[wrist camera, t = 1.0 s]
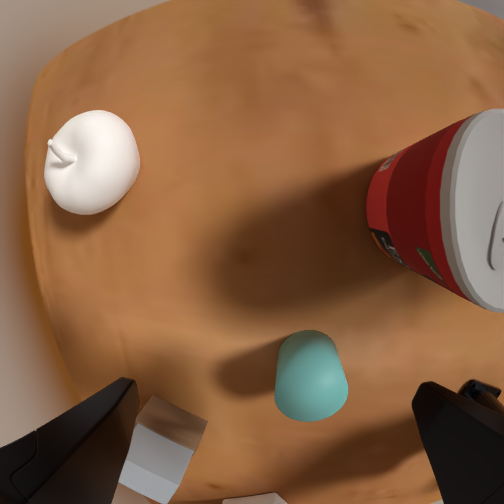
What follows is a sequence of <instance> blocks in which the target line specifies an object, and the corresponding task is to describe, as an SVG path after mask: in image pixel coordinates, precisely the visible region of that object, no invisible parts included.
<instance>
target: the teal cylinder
mask: <svg viewBox="0 0 504 504" xmlns="http://www.w3.org/2000/svg"><path fill="white" fill-rule="evenodd" d="M347 396H348V384H347V381H346V378H345V375H344V371H343V368H342V365H341V362H340V359H339V356H338V353H337V350H336V347H335V344H334V342H333V341H332V340H331V338H330V337H328V336H327V335H326V334H324V333H322V332H319V331H315V330H304V331H300V332H297V333H294V334H292V335H291V336H289V337H288V338H287V339H286V340H285V341H284V342H283V343H282V345H281V347H280V349H279V352H278V361H277V373H276V385H275V402H276V405H277V407H278V409H279V410H280V411H281V412H282V413H283V414H284V415H286V416H287V417H289V418H291V419H294V420H298V421H305V422H310V421H318V420H322V419H325V418H327V417H329V416H331V415H333V414H334V413H336V412H337V411H338V410H339V409H340V408H341V407H342V406H343V404H344V403H345V401H346V399H347Z"/></svg>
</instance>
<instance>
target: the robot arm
mask: <svg viewBox="0 0 504 504" xmlns="http://www.w3.org/2000/svg"><path fill="white" fill-rule="evenodd" d="M500 393H501V390H500V389H499V388H497V387H494V386H491V385H489V384H486V383H483V382H480V381H477V380H474V379H473V380H471V381H470V382H469V384H468V385H467V387H466V388H465V389H464V391H463V392H462V394H461V395H459V394H457V393H455V392H453V391H451V390H449V389H447V388H445V387H443V386H441V385H439V384H437V383H435V382H433V381H428V382H423V383H422V384H421V385H420V386H419V388H418V390H417V392H416V394H415V396H414V398H413V400H412V409H413V412H414V416H415V419H416V422H417V426H418V429H419V433H420V437H421V440H422V443H423V446H424V448H425V451H426V453H427V456H428V459H429V461H430V464H431V467H432V470H433V472H434V475H435V478H436V481H437V484H438V487H439V490H440V493H441V496H442V499H443V502H444V504H504V406H503V405H502V404H501V403H500V402H499V400H498V399H497V398H498V396H499V395H500ZM138 408H139V395H138V390H137V384H136V381H135V380H134V379H130V378H125V377H121V378H119V379H118V380H116V381H114V382H113V383H111V384H110V385H108V386H107V387H105V388H103V389H102V390H100V391H99V392H97V393H95V394H94V395H92V396H91V397H89V398H87V399H86V400H84V401H83V402H81V403H80V404H78V405H76V406H74V407H73V408H71V409H69V410H68V411H66V412H65V413H63V414H61V415H60V416H58V417H56V418H55V419H53V420H51V421H50V422H48V423H46V424H45V425H43V426H41V427H39V428H38V429H37V430H36V431H32V432H31V433H29V434H27V435H25V436H24V437H22V438H20V439H18V440H16V441H14V442H12V443H10V444H8V445H6V446H3V447H1V448H0V504H111V503H112V500H113V497H114V493H115V490H116V487H117V484H118V481H119V478H120V475H121V472H122V469H123V466H124V463H125V460H126V458H127V455H128V452H129V448H130V444H131V440H132V435H133V431H134V426H135V422H136V417H137V413H138Z"/></svg>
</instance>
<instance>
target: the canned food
mask: <svg viewBox="0 0 504 504" xmlns="http://www.w3.org/2000/svg"><path fill="white" fill-rule="evenodd" d="M366 215H367V221H368V226H369V229H370V231H371V234H372V237H373V238H374V240H375V242H376V244H377V246H378V247H379V248H380V249H381V250H382V251H383V253H384V254H386V255H387V256H388V257H389V258H391V259H392V260H394V261H396V262H398V263H400V264H402V265H403V266H405V267H407V268H409V269H411V270H413V271H415V272H417V273H419V274H420V275H422V276H424V277H426V278H428V279H430V280H432V281H433V282H435V283H437V284H439V285H441V286H442V287H444V288H446V289H448V290H450V291H451V292H453V293H455V294H457V295H458V296H460V297H462V298H464V299H466V300H468V301H470V302H472V303H474V304H476V305H478V306H480V307H482V308H484V309H488V310H490V311H493V312H501V313H504V109H491V110H488V111H482V112H479V113H476V114H474V115H471V116H469V117H467V118H465V119H463V120H460V121H458V122H456V123H454V124H452V125H450V126H448V127H446V128H444V129H442V130H440V131H438V132H436V133H434V134H432V135H430V136H428V137H426V138H424V139H423V140H421V141H419V142H417V143H415V144H413V145H411V146H409V147H407V148H405V149H403V150H401V151H399V152H398V153H396V154H394V155H392V156H391V157H389V158H388V159H387V160H385V161H384V162H383V163H382V164H381V166H380V167H379V168H378V169H377V171H376V172H375V174H374V176H373V178H372V180H371V183H370V186H369V188H368V194H367V199H366Z"/></svg>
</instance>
